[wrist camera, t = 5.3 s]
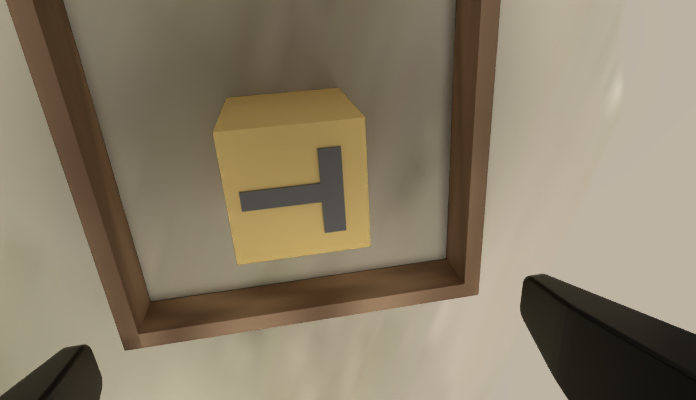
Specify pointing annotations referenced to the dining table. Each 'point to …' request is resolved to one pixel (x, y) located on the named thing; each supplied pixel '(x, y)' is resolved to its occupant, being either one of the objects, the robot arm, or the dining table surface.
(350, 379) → the dining table surface
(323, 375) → the dining table surface
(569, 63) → the dining table surface
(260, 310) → the walnut tray
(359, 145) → the letter block
